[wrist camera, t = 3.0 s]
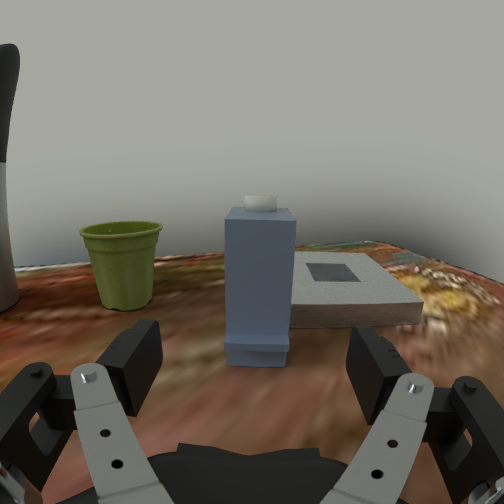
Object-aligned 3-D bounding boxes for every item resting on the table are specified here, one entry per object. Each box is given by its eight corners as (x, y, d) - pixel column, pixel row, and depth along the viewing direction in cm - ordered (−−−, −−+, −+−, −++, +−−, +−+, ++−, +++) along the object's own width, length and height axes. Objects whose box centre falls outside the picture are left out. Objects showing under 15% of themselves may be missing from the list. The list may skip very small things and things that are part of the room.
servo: (286, 376, 20) (299, 207, 17) (225, 375, 20) (222, 205, 17) (279, 314, 29) (285, 193, 26) (235, 313, 29) (235, 191, 26)
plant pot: (146, 281, 38) (141, 217, 36) (181, 304, 32) (178, 226, 30) (81, 296, 32) (72, 227, 30) (103, 327, 25) (90, 239, 23)
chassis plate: (418, 323, 27) (424, 301, 26) (268, 327, 27) (269, 303, 27) (362, 268, 46) (364, 253, 46) (265, 266, 47) (266, 250, 46)
